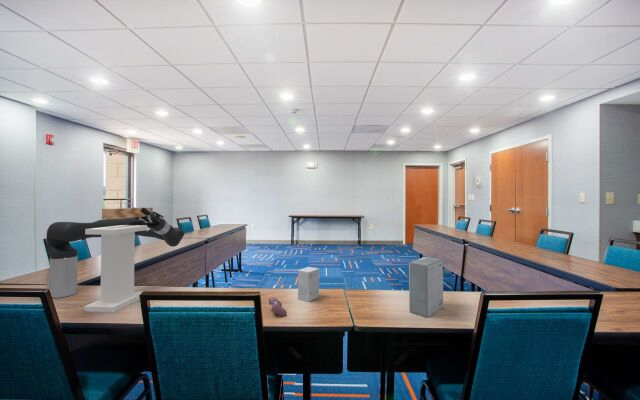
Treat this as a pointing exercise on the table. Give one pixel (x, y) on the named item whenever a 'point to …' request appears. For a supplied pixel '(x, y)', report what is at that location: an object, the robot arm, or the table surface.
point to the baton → (123, 213)
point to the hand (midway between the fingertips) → (137, 209)
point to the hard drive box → (425, 286)
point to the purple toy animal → (277, 306)
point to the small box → (308, 284)
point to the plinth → (116, 267)
